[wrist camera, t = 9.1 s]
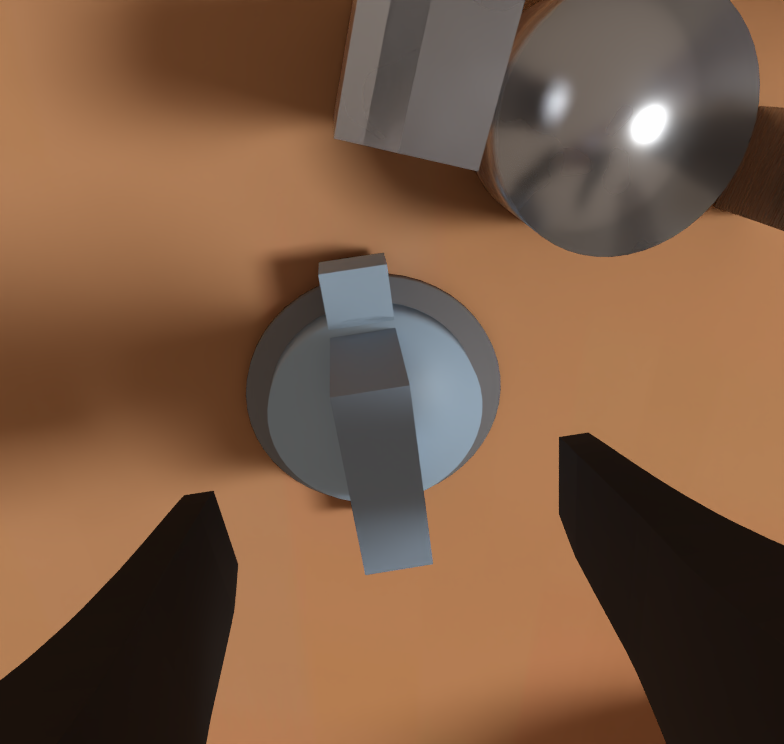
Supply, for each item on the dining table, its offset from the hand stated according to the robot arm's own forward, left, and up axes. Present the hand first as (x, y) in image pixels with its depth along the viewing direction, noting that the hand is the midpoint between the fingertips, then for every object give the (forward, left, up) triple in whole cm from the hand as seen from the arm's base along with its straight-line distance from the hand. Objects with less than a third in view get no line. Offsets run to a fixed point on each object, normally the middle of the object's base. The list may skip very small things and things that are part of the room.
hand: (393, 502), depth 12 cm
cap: (0, 0, -5) cm, 5 cm away
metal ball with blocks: (-3, -8, -5) cm, 10 cm away
